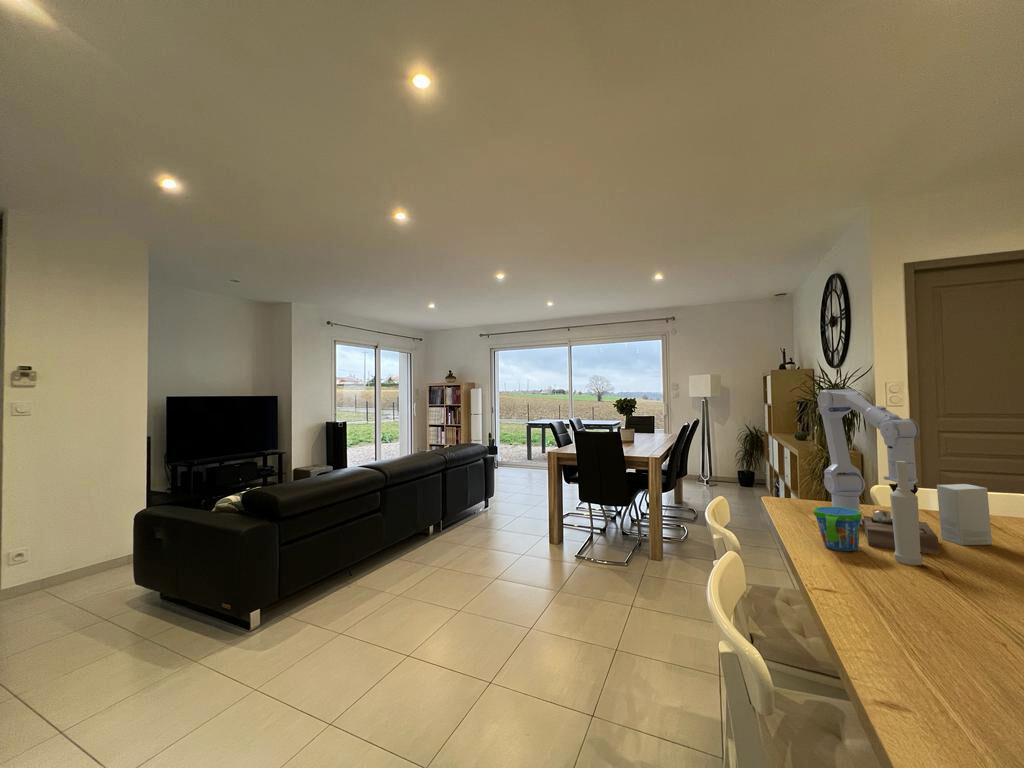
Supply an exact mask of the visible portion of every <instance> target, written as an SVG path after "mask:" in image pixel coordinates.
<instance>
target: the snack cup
mask: <svg viewBox="0 0 1024 768" xmlns="http://www.w3.org/2000/svg"><path fill="white" fill-rule="evenodd" d="M813 515H814V516H815V517H816V520H817V525H818V528H819V531H820V535H821V538H822V543H823V544H824V545H823V546H825V548H828V549H831V550H836V551H841V552H842V551H844V552H854V551H857V550H858V549H859V544H860V533H861V532H860V531H861V529H860V527H861V525H860V520H861V519H863V518H862V517H863V516H862V512H861V511H858V510H854V509H849V508H842V507H832V506H819V507H815V508H813Z"/></svg>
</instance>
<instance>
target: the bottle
mask: <svg viewBox="0 0 1024 768" xmlns="http://www.w3.org/2000/svg"><path fill="white" fill-rule="evenodd" d="M896 469H897V482H896V483H898V487H897V488H896V490H895V491H894V492H893V491H892V492H891V493H890V494H889V497H890V498H889V499H890V507H891V509H890V510H891V519H892V520H893V530H894V540H895V549H894V550H895V551H894V559H895V561H896V562H898V563H900V564H903V565H906V564H907V565H908V566H913V565H920V566H922V565H923V556H922V555H921V554H922V553H920V533H919V522H920V517H919V515H920V514H919V496H917V495H916V494H914V493H912V492H911V491H910V489H909V488H908V478H907V462H905V461H896Z"/></svg>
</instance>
